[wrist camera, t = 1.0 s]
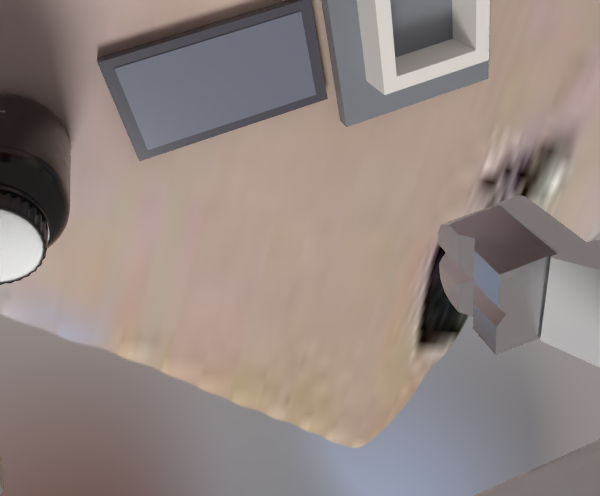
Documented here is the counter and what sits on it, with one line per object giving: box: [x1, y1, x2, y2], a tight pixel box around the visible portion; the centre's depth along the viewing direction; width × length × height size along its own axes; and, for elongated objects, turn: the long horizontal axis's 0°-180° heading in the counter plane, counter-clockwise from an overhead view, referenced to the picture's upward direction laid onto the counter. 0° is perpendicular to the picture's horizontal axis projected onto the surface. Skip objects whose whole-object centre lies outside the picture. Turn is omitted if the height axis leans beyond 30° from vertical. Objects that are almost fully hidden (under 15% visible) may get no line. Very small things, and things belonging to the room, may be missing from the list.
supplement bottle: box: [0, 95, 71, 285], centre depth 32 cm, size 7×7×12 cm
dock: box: [321, 0, 490, 127], centre depth 38 cm, size 14×12×4 cm
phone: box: [97, 0, 328, 161], centre depth 38 cm, size 14×7×1 cm, turn 101°
